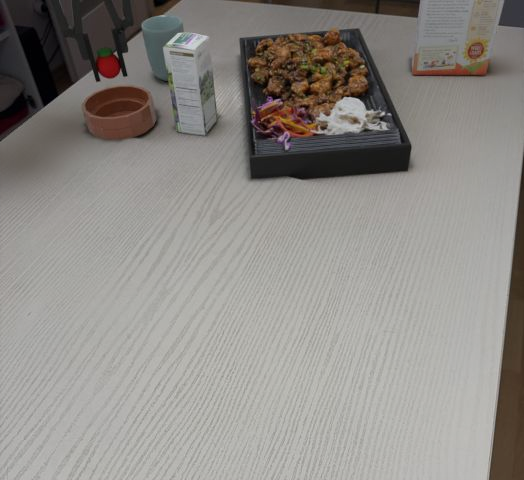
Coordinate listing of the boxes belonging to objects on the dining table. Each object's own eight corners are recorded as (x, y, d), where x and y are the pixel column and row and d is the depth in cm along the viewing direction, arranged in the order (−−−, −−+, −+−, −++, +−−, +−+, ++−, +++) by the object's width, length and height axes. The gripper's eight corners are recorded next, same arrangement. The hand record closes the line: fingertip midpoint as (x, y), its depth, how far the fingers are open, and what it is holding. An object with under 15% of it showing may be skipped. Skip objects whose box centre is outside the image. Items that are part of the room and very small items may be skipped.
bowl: (75, 135, 97) (67, 110, 94) (117, 104, 104) (111, 80, 101) (129, 149, 93) (123, 124, 90) (169, 116, 100) (165, 92, 97)
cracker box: (482, 63, 108) (514, -67, 91) (485, 76, 104) (520, -56, 88) (410, 62, 109) (429, -65, 93) (410, 75, 106) (431, -55, 89)
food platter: (407, 170, 85) (418, 106, 77) (251, 183, 85) (246, 120, 77) (357, 51, 114) (362, -5, 106) (240, 60, 114) (236, 5, 106)
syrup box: (189, 117, 100) (175, 31, 88) (219, 120, 98) (209, 34, 87) (176, 132, 96) (160, 45, 85) (206, 136, 95) (194, 48, 84)
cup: (144, 77, 111) (133, 23, 103) (175, 64, 114) (166, 11, 106) (166, 89, 107) (156, 34, 99) (197, 75, 110) (190, 21, 103)
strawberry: (95, 80, 92) (86, 53, 88) (109, 70, 94) (102, 43, 90) (113, 84, 90) (106, 56, 87) (128, 74, 92) (121, 46, 89)
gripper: (0, -86, 70) (62, 95, 88) (130, -104, 73) (164, 75, 91) (1, -98, 75) (59, 75, 93) (122, -115, 77) (156, 58, 95)
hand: (110, 75), depth 92 cm, fingers closed on strawberry, 4 cm apart
